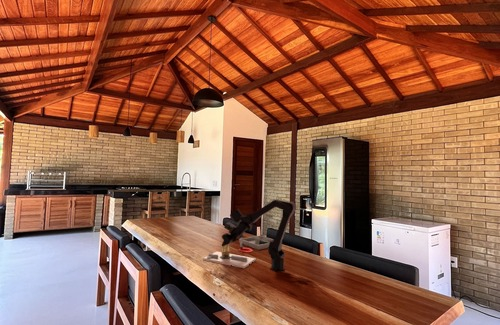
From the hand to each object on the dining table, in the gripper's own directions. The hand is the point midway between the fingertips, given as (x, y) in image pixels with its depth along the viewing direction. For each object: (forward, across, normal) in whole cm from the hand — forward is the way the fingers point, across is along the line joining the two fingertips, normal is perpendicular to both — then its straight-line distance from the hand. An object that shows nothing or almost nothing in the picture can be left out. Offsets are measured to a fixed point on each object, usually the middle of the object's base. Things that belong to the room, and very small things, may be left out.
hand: (224, 244), depth 168 cm
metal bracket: (+2, -46, +11) cm, 47 cm away
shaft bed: (+3, 0, +9) cm, 10 cm away
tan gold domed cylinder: (+4, 0, +6) cm, 7 cm away
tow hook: (+4, -23, +9) cm, 25 cm away
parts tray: (+2, -45, +10) cm, 46 cm away
